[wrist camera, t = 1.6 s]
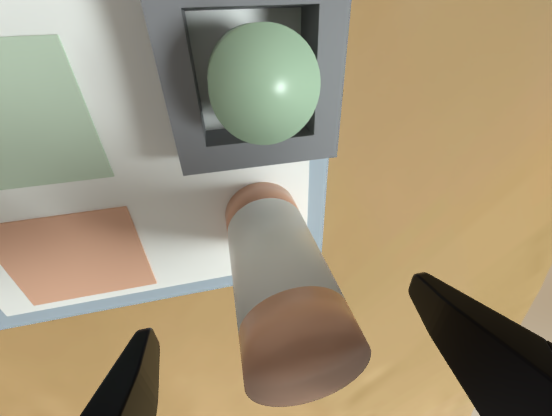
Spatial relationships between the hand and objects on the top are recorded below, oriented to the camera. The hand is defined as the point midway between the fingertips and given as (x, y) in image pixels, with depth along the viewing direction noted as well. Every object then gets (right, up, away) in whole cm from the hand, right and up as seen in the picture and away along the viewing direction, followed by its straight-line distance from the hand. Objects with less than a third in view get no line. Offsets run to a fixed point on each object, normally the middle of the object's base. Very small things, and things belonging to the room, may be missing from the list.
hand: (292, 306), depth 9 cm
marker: (-1, +3, +5) cm, 6 cm away
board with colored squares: (-7, +5, +3) cm, 9 cm away
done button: (-1, +8, 0) cm, 8 cm away
